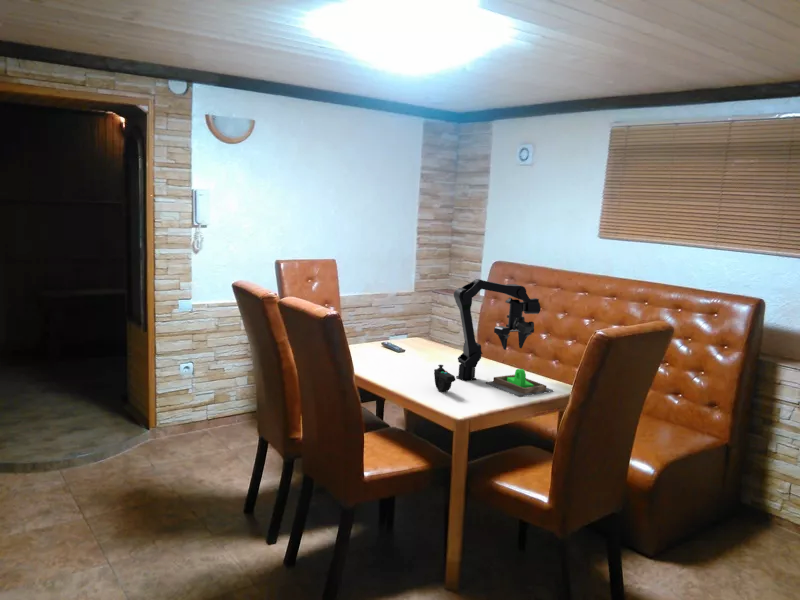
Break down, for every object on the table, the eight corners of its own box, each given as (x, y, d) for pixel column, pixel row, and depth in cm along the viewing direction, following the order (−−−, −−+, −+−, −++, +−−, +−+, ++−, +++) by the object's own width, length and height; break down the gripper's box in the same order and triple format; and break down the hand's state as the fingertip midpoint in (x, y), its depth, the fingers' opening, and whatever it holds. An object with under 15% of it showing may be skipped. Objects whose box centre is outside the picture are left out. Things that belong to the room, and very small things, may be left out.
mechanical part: (533, 389, 253) (535, 370, 252) (520, 390, 251) (521, 371, 250) (519, 381, 264) (521, 363, 263) (506, 382, 262) (508, 363, 261)
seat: (518, 396, 244) (519, 390, 243) (485, 383, 260) (486, 377, 260) (553, 391, 254) (553, 385, 253) (519, 379, 270) (519, 373, 270)
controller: (440, 387, 251) (442, 363, 250) (455, 396, 240) (457, 371, 239) (431, 387, 249) (432, 363, 248) (445, 396, 238) (447, 371, 237)
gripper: (512, 317, 256) (509, 354, 258) (544, 316, 266) (541, 351, 268) (494, 313, 265) (491, 349, 267) (526, 311, 275) (523, 346, 277)
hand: (512, 348), depth 270 cm, fingers open, 9 cm apart
